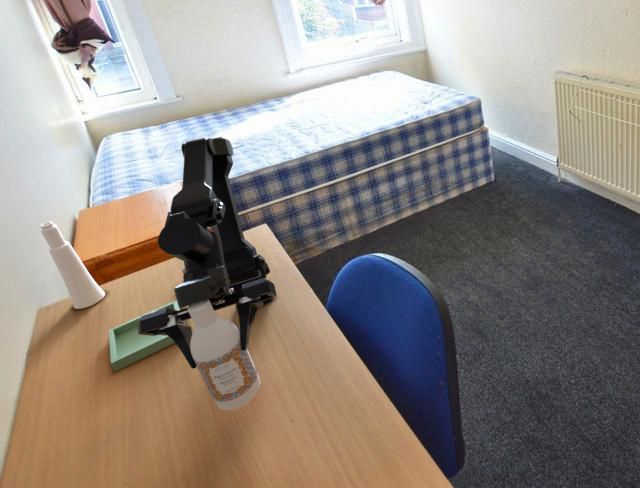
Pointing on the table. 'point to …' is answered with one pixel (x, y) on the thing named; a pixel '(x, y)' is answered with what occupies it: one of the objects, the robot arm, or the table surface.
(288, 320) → the table surface
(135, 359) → the toiletries tray
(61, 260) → the cosmetic bottle
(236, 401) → the bath foam
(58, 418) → the table surface
